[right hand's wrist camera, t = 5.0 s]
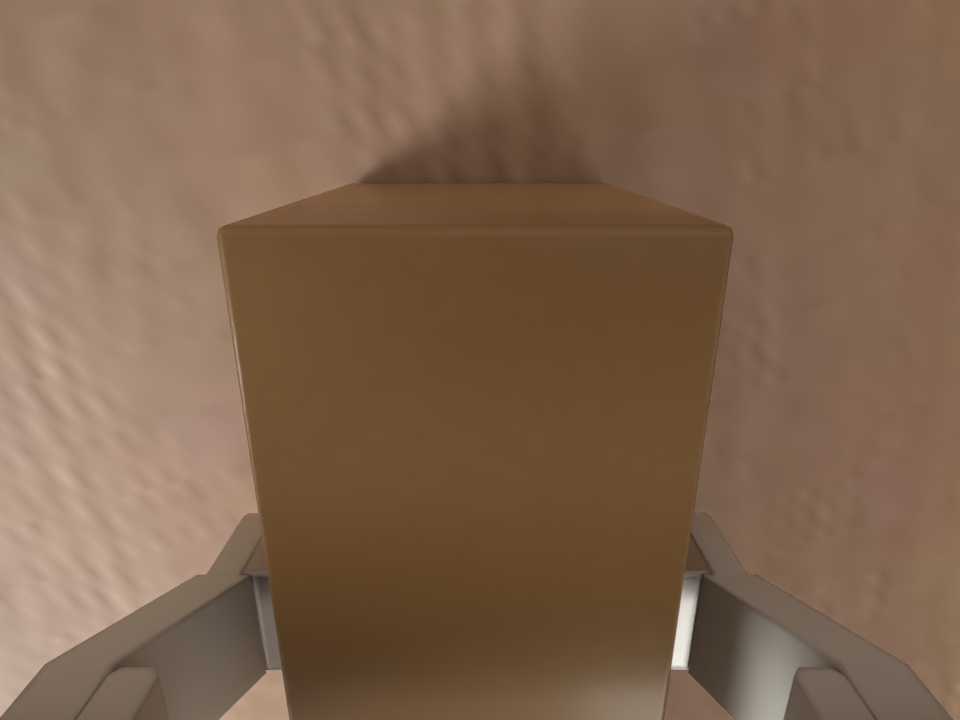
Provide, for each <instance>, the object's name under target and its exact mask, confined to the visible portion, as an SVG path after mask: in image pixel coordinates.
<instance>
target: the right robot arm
mask: <svg viewBox="0 0 960 720" xmlns="http://www.w3.org/2000/svg"><path fill="white" fill-rule="evenodd" d="M277 669H282V666H281V659H280V652H279V646H278V639H277V632H276V626H275V619H274V612H273V606H272V599H271V592H270V586H269V579H268V572H267V566H266V559H265V552H264V546H263V539H262V532H261V526H260V519H259V513H250V514H247V515H245V516H244V517H243V518H242V519H241V521H240V522H239V524H238V526H237V527H236V529H235V530H234V532H233V533H232V535H231V537H230V538H229V540H228V541H227V543H226V544H225V546H224V548H223V549H222V551H221V552H220V554H219V555H218V557H217V559H216V560H215V562H214V563H213V565H212V566H211V568H210V570H209V571H208V573H207V574H206V575H196V576H194V577H193V578H191V579H189V580H188V581H186V582H184V583H182V584H181V585H179V586H177V587H176V588H174V589H172V590H171V591H169V592H167V593H165V594H164V595H162V596H160V597H159V598H157V599H155V600H154V601H152V602H150V603H148V604H147V605H145V606H143V607H142V608H140V609H138V610H137V611H135V612H133V613H131V614H130V615H128V616H126V617H125V618H123V619H121V620H119V621H118V622H116V623H114V624H113V625H111V626H109V627H108V628H106V629H104V630H102V631H101V632H99V633H97V634H96V635H94V636H92V637H91V638H89V639H87V640H85V641H84V642H82V643H80V644H79V645H77V646H75V647H74V648H72V649H70V650H68V651H67V652H65V653H63V654H62V655H60V656H58V657H57V658H55V659H53V660H51V661H50V662H48V663H46V664H45V665H44V666H43V667H42V668H41V670H40V671H39V672H38V673H37V674H36V676H35V677H34V678H33V679H32V680H31V682H30V683H29V684H28V685H27V686H26V688H25V689H24V690H23V691H22V692H21V694H20V695H19V696H18V697H17V698H16V700H15V701H14V702H13V703H12V704H11V706H10V707H9V708H8V709H7V710H6V711H5V713H4V714H3V715H2V716H1V717H0V720H219V719H220V718H221V717H222V716H223V715H224V714H225V713H226V712H227V711H228V710H229V709H230V708H231V707H232V706H233V705H234V704H235V703H236V702H237V701H238V700H239V699H240V698H241V697H242V696H243V695H244V694H245V693H246V692H247V691H248V690H249V689H250V688H251V687H252V686H253V685H254V684H255V683H256V682H257V681H258V680H259V679H260V678H261V677H262V676H263V675H264V674H265V673H266V671H265V670H277ZM671 669H677V670H689V672H688V673H689V674H690V675H691V676H692V677H693V678H694V679H695V680H696V681H697V682H698V683H699V684H700V685H701V686H702V687H703V688H704V689H705V690H706V691H707V692H708V693H709V694H710V695H711V696H712V697H713V698H714V699H715V700H716V701H717V702H718V703H719V704H720V705H721V706H722V707H723V708H724V709H725V710H726V711H727V712H728V713H729V714H730V715H731V716H732V717H733V718H734V719H735V720H953V719H952V718H951V717H950V715H949V714H948V713H947V712H946V710H945V709H944V708H943V707H942V706H941V704H940V703H939V702H938V701H937V699H936V698H935V697H934V696H933V694H932V693H931V692H930V691H929V690H928V688H927V687H926V686H925V685H924V683H923V682H922V681H921V680H920V679H919V677H918V676H917V675H916V674H915V672H914V671H913V670H912V669H911V668H910V666H909V665H907V664H906V663H904V662H902V661H901V660H899V659H897V658H896V657H894V656H892V655H891V654H889V653H887V652H885V651H884V650H882V649H880V648H879V647H877V646H875V645H874V644H872V643H870V642H869V641H867V640H865V639H864V638H862V637H860V636H859V635H857V634H855V633H854V632H852V631H850V630H849V629H847V628H845V627H843V626H842V625H840V624H838V623H837V622H835V621H833V620H832V619H830V618H828V617H827V616H825V615H823V614H822V613H820V612H818V611H817V610H815V609H813V608H812V607H810V606H808V605H807V604H805V603H803V602H801V601H800V600H798V599H796V598H795V597H793V596H791V595H790V594H788V593H786V592H785V591H783V590H781V589H780V588H778V587H776V586H775V585H773V584H771V583H770V582H768V581H766V580H765V579H763V578H761V577H759V576H758V575H748V574H747V573H746V571H745V570H744V568H743V566H742V565H741V563H740V562H739V560H738V559H737V557H736V555H735V554H734V552H733V551H732V549H731V547H730V546H729V544H728V543H727V541H726V540H725V538H724V536H723V535H722V533H721V532H720V530H719V528H718V527H717V525H716V524H715V522H714V520H713V519H712V517H711V516H710V515H708V514H707V513H693V519H692V526H691V533H690V540H689V547H688V554H687V561H686V568H685V575H684V582H683V589H682V596H681V603H680V610H679V617H678V624H677V631H676V638H675V645H674V652H673V659H672V666H671Z"/></svg>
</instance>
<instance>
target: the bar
mask: <svg viewBox="0 0 960 720" xmlns="http://www.w3.org/2000/svg"><path fill="white" fill-rule="evenodd" d="M217 239H218V246H219V252H220V259H221V266H222V272H223V279H224V286H225V292H226V299H227V306H228V312H229V319H230V326H231V332H232V339H233V346H234V352H235V359H236V366H237V372H238V379H239V386H240V392H241V399H242V406H243V412H244V419H245V426H246V432H247V439H248V446H249V452H250V459H251V466H252V472H253V479H254V486H255V492H256V499H257V506H258V512H259V519H260V526H261V532H262V539H263V546H264V552H265V559H266V566H267V572H268V579H269V586H270V592H271V599H272V606H273V612H274V619H275V626H276V632H277V639H278V646H279V652H280V659H281V666H282V672H283V679H284V686H285V692H286V699H287V706H288V712H289V719H290V720H664V714H665V707H666V700H667V693H668V686H669V679H670V672H671V666H672V659H673V652H674V645H675V638H676V631H677V624H678V617H679V610H680V603H681V596H682V589H683V582H684V575H685V568H686V561H687V554H688V547H689V540H690V533H691V526H692V519H693V512H694V506H695V499H696V492H697V485H698V478H699V471H700V464H701V457H702V450H703V443H704V436H705V429H706V422H707V415H708V408H709V401H710V394H711V387H712V380H713V373H714V366H715V359H716V353H717V346H718V339H719V332H720V325H721V318H722V311H723V304H724V297H725V290H726V283H727V276H728V269H729V262H730V255H731V248H732V241H733V232H732V229H731V228H730V227H728V226H725V225H723V224H720V223H717V222H714V221H711V220H708V219H706V218H703V217H700V216H697V215H694V214H691V213H688V212H685V211H682V210H679V209H677V208H674V207H671V206H668V205H665V204H662V203H659V202H656V201H653V200H650V199H648V198H645V197H642V196H639V195H636V194H633V193H630V192H627V191H624V190H621V189H619V188H616V187H613V186H610V185H607V184H604V183H351V184H348V185H345V186H342V187H339V188H336V189H333V190H330V191H327V192H324V193H321V194H318V195H315V196H312V197H309V198H306V199H303V200H300V201H297V202H294V203H291V204H288V205H285V206H282V207H279V208H276V209H273V210H270V211H267V212H264V213H261V214H258V215H255V216H252V217H249V218H246V219H243V220H240V221H237V222H234V223H231V224H228V225H225V226H223V227H221V228H219V230H218V234H217Z"/></svg>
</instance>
